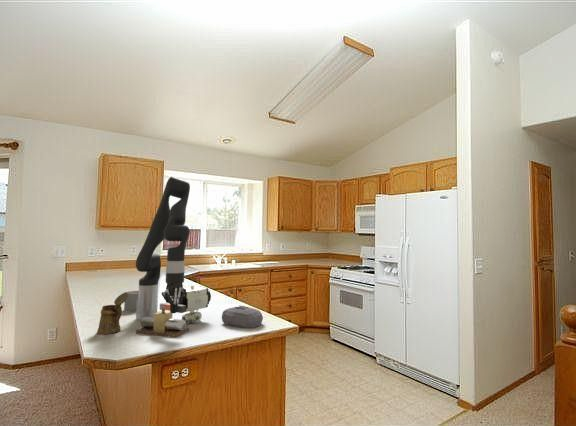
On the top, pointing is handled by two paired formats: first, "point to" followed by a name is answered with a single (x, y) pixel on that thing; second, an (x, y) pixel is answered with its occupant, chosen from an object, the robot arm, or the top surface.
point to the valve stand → (162, 325)
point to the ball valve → (195, 303)
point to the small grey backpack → (242, 317)
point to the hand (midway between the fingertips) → (173, 312)
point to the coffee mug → (131, 301)
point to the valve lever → (167, 307)
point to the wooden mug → (111, 316)
